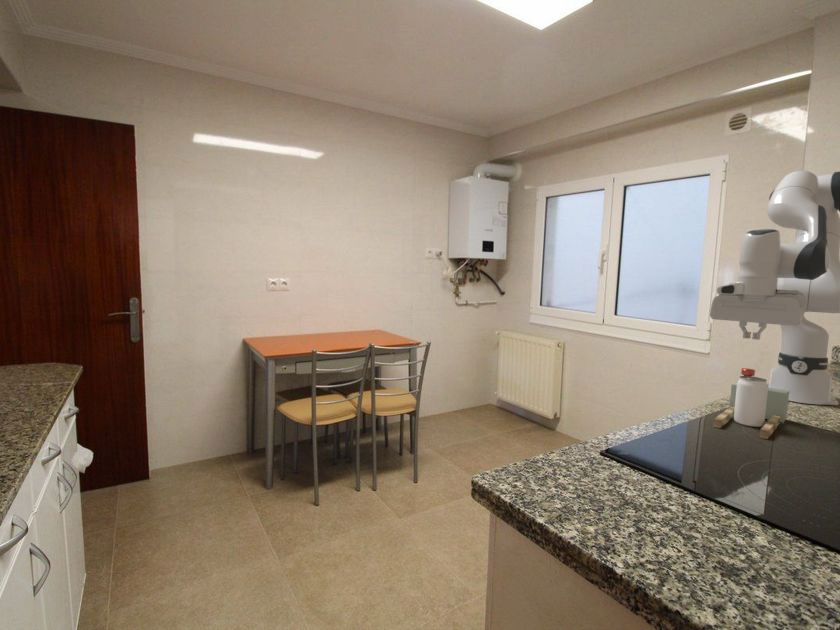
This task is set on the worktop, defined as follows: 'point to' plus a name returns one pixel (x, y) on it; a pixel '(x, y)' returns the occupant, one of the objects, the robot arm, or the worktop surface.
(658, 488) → the worktop surface
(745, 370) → the plunger
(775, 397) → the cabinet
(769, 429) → the rails
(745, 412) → the can
